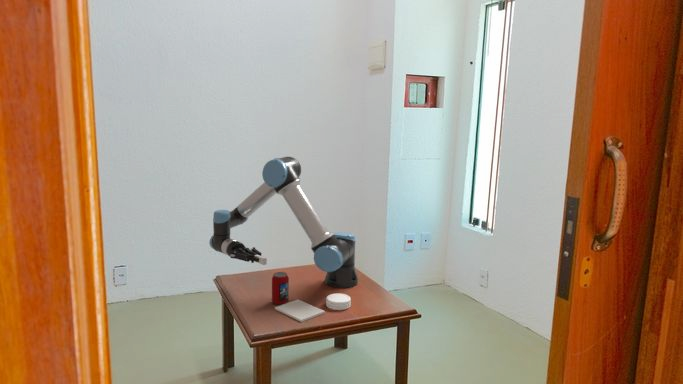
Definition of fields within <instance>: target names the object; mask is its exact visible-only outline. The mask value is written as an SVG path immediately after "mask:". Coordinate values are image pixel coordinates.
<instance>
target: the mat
mask: <svg viewBox="0 0 683 384" xmlns="http://www.w3.org/2000/svg"><path fill="white" fill-rule="evenodd" d="M274 310H276V311H278V312H280V314H284V315H286V316H288V317H290V318H292V319H294V320H296V321H298V322H300V323H302V322H305V321H308V320H310V319H313V318H315V317H318V316H320V315H324V314H326V313H325V312H326V311H325V310H323V309H321V308H319V307H316V306H314V305H311V304H310V303H307V302H305V301H303V300H301V299H295V300H293V301H290V302H289V301H288V302H287V303H285V304H282V305H278V306H274Z"/></svg>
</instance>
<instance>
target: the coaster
mask: <svg viewBox="0 0 683 384" xmlns="http://www.w3.org/2000/svg"><path fill="white" fill-rule="evenodd" d="M351 303H352V302H351V296H349V295H347V294H346V293H331V294H329V295H327V296H326V298H325V305H326V307H327V308H328V309H330V310H332V311H333V310H334V311H344V310H348V309H349V308H350V307H351V306H352V305H351Z"/></svg>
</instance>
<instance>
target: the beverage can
mask: <svg viewBox="0 0 683 384" xmlns="http://www.w3.org/2000/svg"><path fill="white" fill-rule="evenodd" d="M289 279H290V278H289V276H288V273H286V272H285V271H277V272H274V273H273V275H272V277H271V302H272V303H274V304H275V305H278V306H280V305H283V304H286V303H289V300H290V299H289V298H290V296H289V289H290V285H289V283H290V282H289V281H290V280H289Z"/></svg>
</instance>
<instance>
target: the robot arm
mask: <svg viewBox="0 0 683 384" xmlns="http://www.w3.org/2000/svg"><path fill="white" fill-rule="evenodd" d="M261 173H262V179H263V181H264V182H263V183H262V184H261V185H260V186H259V187H258V188H256V189H255V190H254V191H253V192H252V193H251V194H249V195H248V196H247V197H246V198H245V199H244V200H242V202H241V203H239V204H238V205H237V206H236V207H235V208H234V209H232V210H231V211H229V210H228V209H217V210H215V211H214V212H213V218H212V220H213V226H212V227H213V234H212V236H211V237H210V239H209V241H208V242H209V243H208V244H209V246H210V248H211V249H213V250H214V251H216V252H219V253H221V254H223V255H226V256H228V257H229V258H230V259H236V260H240V261H243V262H248V263H249V262H250V261H251V264H253V263H255V262H256V263H257V264H260V265H263V266H265V265H267V261H268V260H267V257H265V256H262V252H261V251H259V250H258V249H256V247H254V246H253V247H252V248H249V247H247V246H245V244H244V243H243V242H241V241H239V240H236V239H232V238H231V229H232V228H235V227H238V226H240V225H243V224H245V223H246V222H247V221H248V220H249V217H251V216H252V215H253V214H254V213H255V212H257V211H258V210H259V209H260V208H261V207H262V206H264V204H265V203H267V202H268V201H269V200H271V199H272V197H274V196H275V195H280V196H282V197H283V199H284V200H285V201H286V203H287V206H288V207H289V209H290V210H291V212H292V213H293V215H294V216H295V218H296V220H297V221H298V223H299V225H300V226H301V228H302V229H303V231H304V233H305V235H307V237H308V239H309V241H310V243H311V245H310V249H311V252H313V261H314V264H315V265H316V267H317V268H318V269H319V270H321V271H322V272H326V274H325V276H324V283H325V284H326V285H328V286H330V287H334V288H341V289H342V288H343V289H345V288H351V287H355V286H357V285H358V284H359V277H358V273H357V270H356V266H355V260H356V243H357V242H356V236H355V234H353V233H349V232H338V231H337V232H329V230H328V229H327V226H326V225H325V223H324V222H323V220H322V219H321V218H320V216H319V214H318V212H317V211H316V209H315V208H314V206H313V205H312V203H311V201H310V199H309V198H308V197H307V195H306V193H305V191H304V190H303V188H302V187H301V185H300V183H301V179H300V176H301V174H302V166H301V164H300V162H299V161H298V160H297V159H296V158H295V157H293V156H284V157H278V158H277V157H276V158H275V157H274V158H273V159H270V160H269V161H267V162H266V163H265V164H264V166H263V168H262V172H261Z"/></svg>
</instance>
